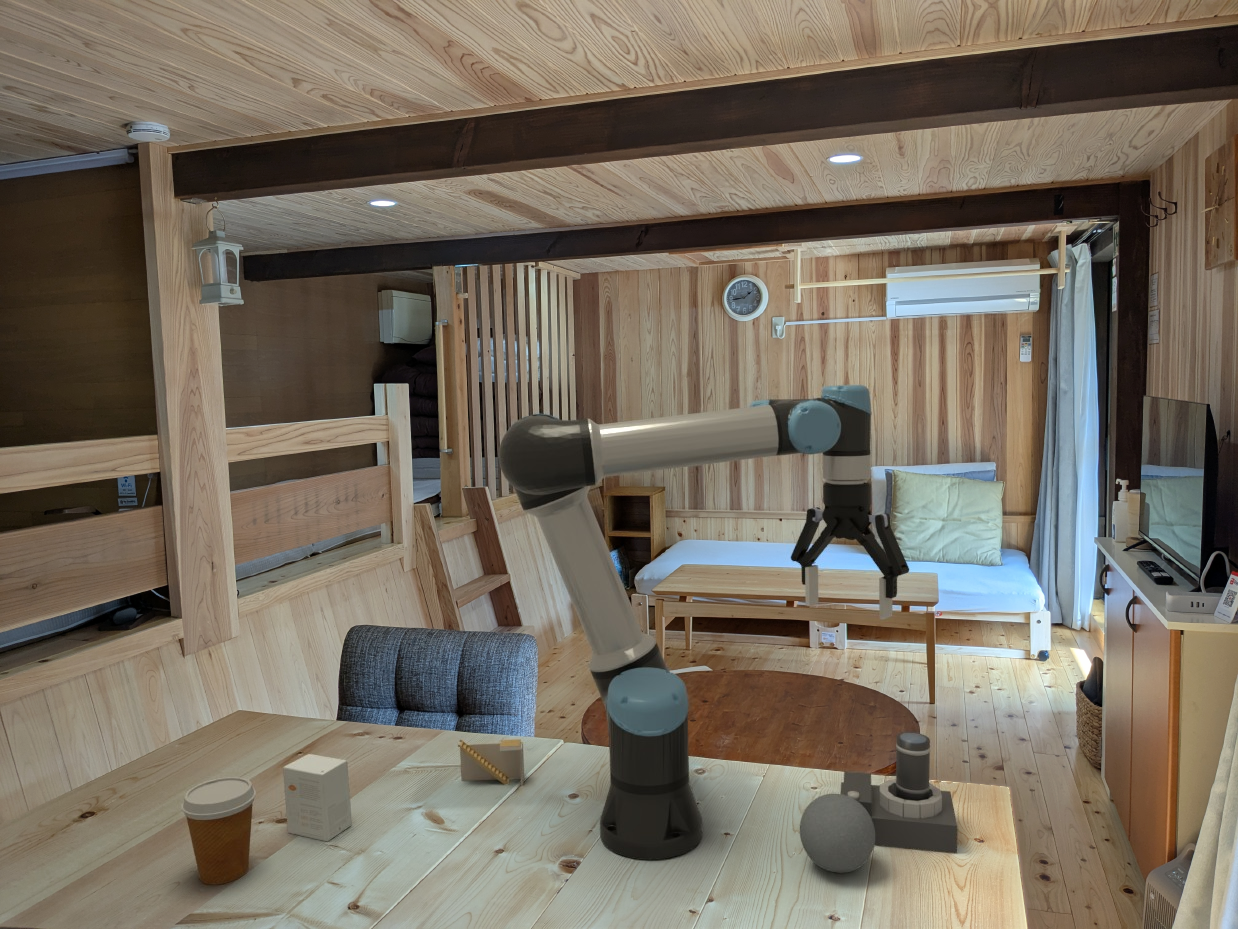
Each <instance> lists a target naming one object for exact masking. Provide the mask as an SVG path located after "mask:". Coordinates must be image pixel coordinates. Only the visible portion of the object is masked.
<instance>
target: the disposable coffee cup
mask: <svg viewBox="0 0 1238 929" xmlns="http://www.w3.org/2000/svg"><path fill="white" fill-rule="evenodd" d="M256 794H257V791H256V789H255V788H254V787H253V784H252V782H251V780H249V779H248V778H244V777H241V776H240V777H239V776H227V777H219V778H215V779H210V780H206V781H204V782H201V783H199V784H196V785H195V786H193V787H192V788H190V789H189V790H187V792H186V793H185V794H184V799H183V802H181V805H180V806H181V811H182V812H183V813H184V816H185V817H186V822H187V825H188V831H189V835H190V840H191V843H192V844H191V845H192V848H193V850H192V851H193V854H194V858H195V862H196V867H197V871H198V876H199V880H200V882H202V883H203V884H206V885H223V884H227V883H230V882H232V881H235V880H238V879H239V878H241V877H243V876H244V875H245V874H246V873H247V872H248V871H249V863H250V846H251V836H252V835H251V834H252V833H251V832H252V819H253V803H254V801H255V798H256Z"/></svg>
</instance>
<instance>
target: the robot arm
mask: <svg viewBox="0 0 1238 929" xmlns="http://www.w3.org/2000/svg"><path fill="white" fill-rule="evenodd" d="M870 394H871V393H870V389H869V388H868V387H867V386H865V385H863V384H846V385H845V384H844V385H843V384H841V385H840V384H839V385H825V386H824V387H822V389H821V395H820V397H816V398H788V399H786V398H785V399H783V398H781V399H779V398H778V399H776V398H775V399H774V398H773V399H771V398H769V399H763V400H760V399H759V400H754V401H752V402H751V403H750V404H749V406H747V407H737V408H730V409H722V410H713V411H704V412H696V413H694V412H693V413H687V414H678V415H669V416H662V417H661V416H660V417H653V418H644V419H636V420H634V419H633V420H628V421H627V420H626V421H620V422H609V423H601V424H597V423H596V422H595V421H593V420H592V419H590V418H583V419H582V418H581V419H574V420H573V419H572V420H569V419H568V420H567V419H565V420H563V419H559V418H558V417H556V416H554V415H551V414H547V413H533V414H530V415H526V416H523V417H522V418H520V419H518V420H516V421H515V422H514V423H513V424H512V425H511V426H509V428H508V430H507V431H506V432H505V434H504V435H503V437H502V438H501V441H500V444H499V449H498V463H499V469H500V470H501V473H502V475H503V476H504V478H505V479H506V481H507V482H508V484H509V485H511V486H512V487H513V489H514V491H515V494H516V496H517V499H518V501H519V503H520V505H521V508H522V510H523V513H527V514H529V515H532V516H533V517H535V518H537V521H538V523H539V526H540V529H541V531H542V533H543V536H544V539H545V540H546V543H547V545H548V548H549V550H550V553H551V555H552V557H553V560H554V562H555V565H556V567H557V569H558V572H559V574H560V577H561V579H562V581H563V584H564V586H565V589H566V591H567V593H568V595H569V599H570V600H571V603H572V606H573V608H574V610H575V613H576V615H577V617H578V620H579V622H580V623H579V624H580V625H581V627H582V629H583V631H584V634H585V637H586V639H587V642H588V644H589V646H590V650H591V651H592V656H591V658H590V660H589V663H588V669H589V671H590V674H591V676H592V678H593V680H594V683H595V685H596V688H597V690H598V693H599V695H600V698H601V701H602V703H603V706H604V709H605V710H604V711H605V715H606V722H607V728H608V745H609V746H608V747H609V771H610V772H609V774H610V778H609V779H610V782H609V783H610V784H609V788H608V792H607V795H606V798H605V802H604V806H603V808H602V811H601V815H600V819H599V837H600V840H601V842H602V844H603V845H604V846H605V847H606V848H607V849H609V850H610V851H611V852H614V853H615V854H618V855H621V856H623V857H627V858H630V859H638V860H663V859H671V858H673V857H676V856H677V857H678V856H680V855H683V854H685V853H687V852H690V851H691V850H693V849H694V848H696V847H697V845H698V844H699V843H701V840H702V838H703V818H702V815H701V811H700V809H699V806H698V803H697V801H696V798H695V795H694V793H693V790H692V786H691V784H690V764H689V762H690V761H689V760H690V759H689V758H690V757H689V754H690V753H689V752H690V751H689V718H688V713H689V708H690V702H689V697H688V692H687V687H686V684H685V682H684V681H683V679H682V678H681V677H680V676H678V674H675V673H673V672H671V671H670V669H669V667H668V666H667V664H666V661H665V660H664V656H663V654H662V651H661V650H660V647H659V645H658V643H657V640H656V638H655V637H654V636H653V635H650V634H648V633H645V632H643V629H642V627H641V625H640V623H639V620H638V618H637V616H636V613H635V611H634V608H633V607H632V606H633V605H632V604H631V600H630V599H629V596H628V594H627V591H626V588H625V587H624V584H623V581H622V579H621V576H620V574H619V571H618V570H617V566H616V565H615V561H614V559H613V556H612V554H611V551H610V550H609V547H608V545H607V542H606V539H605V537H604V534H603V532H602V529H601V527H600V525H599V522H598V520H597V518H596V516H595V513H594V510H593V507H592V505H591V503H590V500H589V497H588V493H589V492H590V489H591V487H593V486H598V485H599V484H600V483H601V481H602V480H603V479H604V478H607V477H608V478H609V477H614V476H615V477H616V476H622V475H632V474H640V473H647V472H655V471H663V470H665V471H666V470H670V469H678V468H679V469H681V468H686V467H687V468H688V467H696V466H704V465H712V464H720V463H728V462H735V461H743V460H751V459H758V458H760V459H761V458H767V457H775V456H776V457H777V456H788V455H796V454H806V455H810V456H811V455H816V454H822V479H823V480H825V482H824V483H823V484H822V503H823V504H824V509H821V508H820V507H819V506H818V507H812V508H807V510H806V515H805V516H806V517H805V522H804V525H803V527H802V529H801V532H800V535H799V536H798V539H797V541H796V544H795V546H794V548H793V550H792V553H791V555H790V560H791V561H792V562H796V563H798V564H799V566H800V567H801V569H800V570H801V583H802V585H803V586H805V588H804V589H805V590H804V591H805V607H812V606H814V605H818V604H819V565H816V564H815V563H816V561H817V559H818V558H819V557H820V556H821V554H822V553H823V552H824V551H825V549H826V548H827V547H828V546H829V544H830V543H831V542H832V541H833V540H834V538H835V539H845V540H849V541H854V540H856V541H857V543H858V544H860V545H861V546H862V547H863V548H864V550H865V551H866V553H867V554H868V555H869V557H870V558H871V560H872V561H873V562H874V564H875V565H876V567H877V568H878V569H879V571H880V572H881V574H882V575H883V576H882V577H881V576H880V577H879V580H878V581H879V583H878V584H879V585H878V596H879V598H878V599H879V600H878V601H879V605H878V606H879V612H878V615H879V616H878V617H879V620H886V619H887V620H888V619H889V618H892V617H893V599H894V598H896V597H897V595H898V578H899V576H902V575H905V574H908V573H909V572H910V567H909V564H908V563H907V561H906V559H905V556H904V553H903V552H902V549H901V547H900V545H899V543H898V541H897V538H896V537H895V534H894V531H893V529H892V527H891V526H892V525H891V518H890V515H889V513H887V512H883V513H879V514H872V512H871V504H872V484H871V483H870V482H868V480H870V479H871V477H872V464H871V463H872V462H871V461H872V460H871V459H872V458H871V457H872V454H871V453H872V452H871V442H872V441H871V439H872V438H871V435H872V433H871V431H872V428H871V427H872V424H871V423H872V422H871V421H872V414H873V413H872V407H871V395H870ZM822 520H823V521H824V522H825V524H826V526H825V527H824V528H823V529H822V531H821V532H820V535H819V536H818V538H817V539H816V540H815V541H814V542H813V540H814V537H815V535H816V532H817V531H818V528H819V526H820V522H822ZM871 524H872V527H874V528H875V530H876V533H877V535H878V538H879V540H880V543H881V545H882V546H881V545H880V543H879V542H878V541H877V539H876V536H875V534H874V532H873V531H872V530H871V528H870V526H871ZM812 542H813V544H812ZM811 544H812V545H811Z"/></svg>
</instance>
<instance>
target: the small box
mask: <svg viewBox="0 0 1238 929" xmlns="http://www.w3.org/2000/svg"><path fill="white" fill-rule="evenodd" d="M348 764H349V763H348V760H346V759H341V758H336V757H335V758H334V757H330V756H325V755H324V756H323V755H319V754H318V755H316V754H313V753H308V754H306V755H303V756H302V757H300V758H298V759H296V760H294V761H293V762H290V763H288V764H287V765H285V766H283V767H282V771H283V783H284V784H283V786H284V797H285V798H284V800H285V811H286V826H287V833H289V834H293V835H297V836H302V837H306V838H311V839H314V840H318V841H323V842H329V841H331V839H333V838H335V837H336V836H338V835H339V834H340V833H342V832H344V831H345V830H347V829H348V828H349V827H351V826H352V825H353V820H352V818H353V817H352V808H351V807H352V806H351V793H350V782H349V780H350V778H349V768H348V767H349V766H348Z"/></svg>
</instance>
